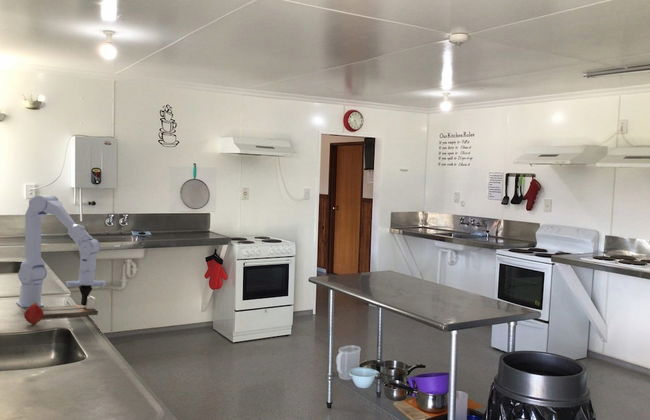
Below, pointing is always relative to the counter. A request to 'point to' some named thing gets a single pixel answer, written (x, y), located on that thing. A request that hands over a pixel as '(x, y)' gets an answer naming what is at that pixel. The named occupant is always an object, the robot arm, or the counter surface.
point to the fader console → (67, 311)
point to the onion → (33, 314)
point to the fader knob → (90, 303)
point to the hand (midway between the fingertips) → (84, 304)
